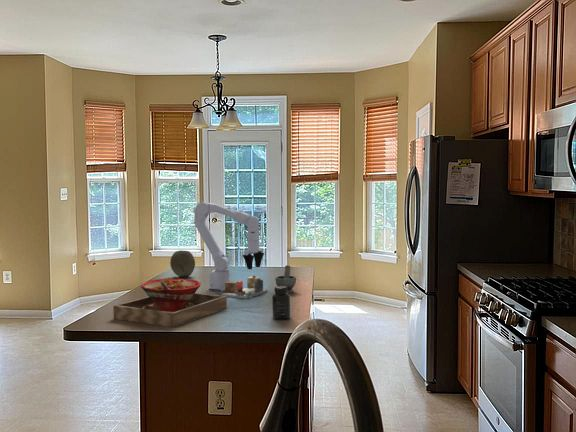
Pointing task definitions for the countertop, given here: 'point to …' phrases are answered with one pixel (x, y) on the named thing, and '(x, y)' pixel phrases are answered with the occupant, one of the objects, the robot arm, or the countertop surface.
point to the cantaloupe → (182, 263)
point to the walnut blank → (230, 286)
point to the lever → (239, 288)
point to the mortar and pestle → (286, 279)
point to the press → (256, 288)
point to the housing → (252, 281)
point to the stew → (170, 293)
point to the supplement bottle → (281, 303)
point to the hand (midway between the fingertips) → (253, 268)
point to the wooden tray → (202, 307)
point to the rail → (247, 296)
